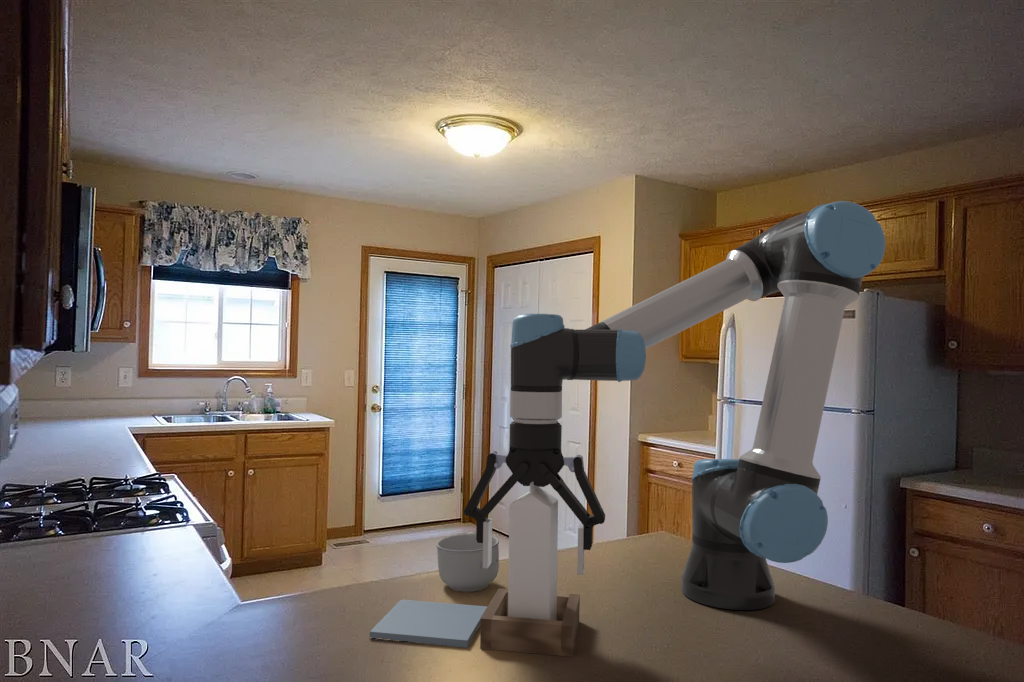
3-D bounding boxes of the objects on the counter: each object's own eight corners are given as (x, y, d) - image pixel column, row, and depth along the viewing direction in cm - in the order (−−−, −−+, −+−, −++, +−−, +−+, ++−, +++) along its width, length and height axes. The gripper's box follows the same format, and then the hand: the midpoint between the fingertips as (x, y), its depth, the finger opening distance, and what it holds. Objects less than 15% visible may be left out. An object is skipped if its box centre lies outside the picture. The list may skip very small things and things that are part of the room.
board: (487, 613, 105) (487, 606, 105) (467, 647, 92) (467, 640, 92) (400, 605, 107) (401, 599, 107) (369, 638, 94) (369, 631, 94)
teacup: (490, 599, 111) (491, 550, 111) (427, 594, 113) (428, 545, 113) (507, 573, 124) (508, 530, 125) (451, 569, 127) (451, 526, 127)
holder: (579, 621, 102) (579, 594, 102) (572, 656, 90) (572, 626, 90) (498, 614, 104) (498, 588, 104) (480, 648, 92) (480, 618, 92)
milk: (507, 640, 95) (508, 482, 95) (517, 624, 101) (518, 475, 101) (549, 645, 93) (550, 484, 94) (557, 628, 99) (558, 477, 100)
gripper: (623, 421, 99) (621, 567, 99) (458, 416, 104) (455, 555, 103) (622, 426, 92) (620, 583, 91) (445, 420, 96) (442, 570, 96)
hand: (533, 569), depth 97 cm, fingers open, 13 cm apart
